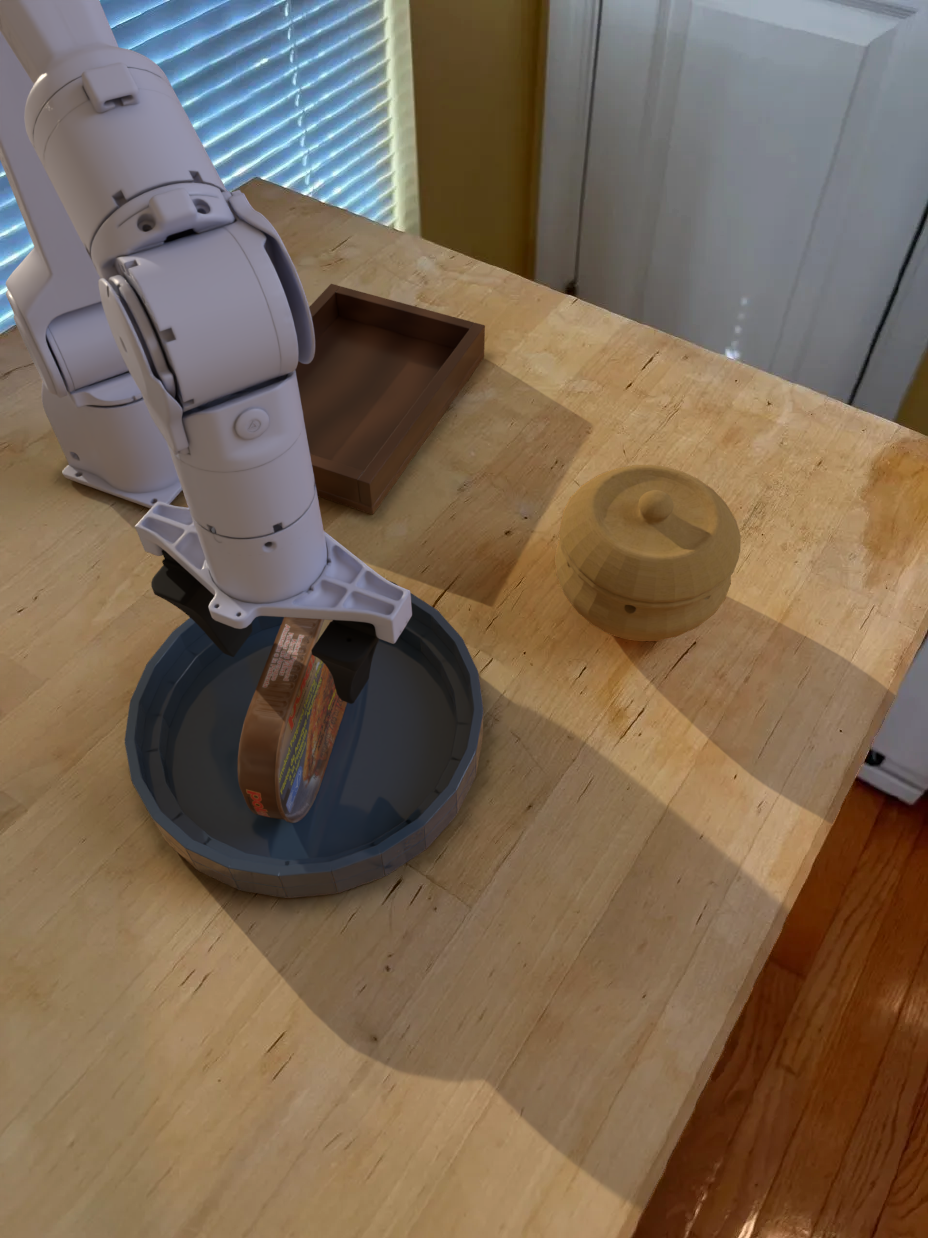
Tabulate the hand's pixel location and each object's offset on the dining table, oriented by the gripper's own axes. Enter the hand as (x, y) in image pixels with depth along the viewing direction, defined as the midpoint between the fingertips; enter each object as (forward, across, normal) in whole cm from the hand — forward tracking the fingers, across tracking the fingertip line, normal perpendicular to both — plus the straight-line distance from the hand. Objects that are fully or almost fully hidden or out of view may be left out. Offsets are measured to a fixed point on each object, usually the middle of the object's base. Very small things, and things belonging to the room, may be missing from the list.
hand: (295, 665), depth 53 cm
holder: (+8, -13, +29) cm, 33 cm away
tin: (+8, 0, 0) cm, 8 cm away
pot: (+8, +15, +19) cm, 25 cm away
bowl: (+8, 0, 0) cm, 8 cm away
